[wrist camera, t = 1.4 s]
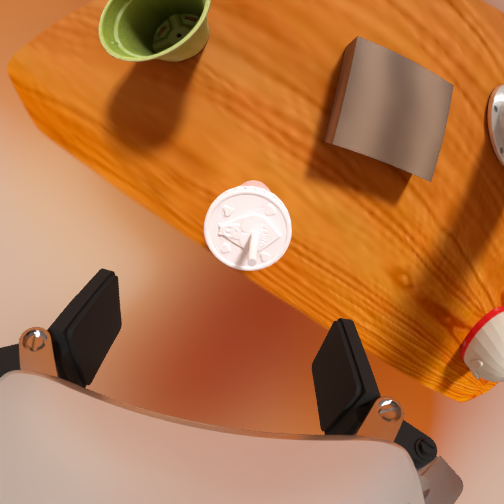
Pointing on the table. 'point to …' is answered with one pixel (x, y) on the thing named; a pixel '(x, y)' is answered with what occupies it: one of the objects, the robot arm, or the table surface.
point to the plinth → (389, 109)
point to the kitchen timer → (486, 347)
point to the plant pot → (154, 29)
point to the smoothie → (248, 227)
